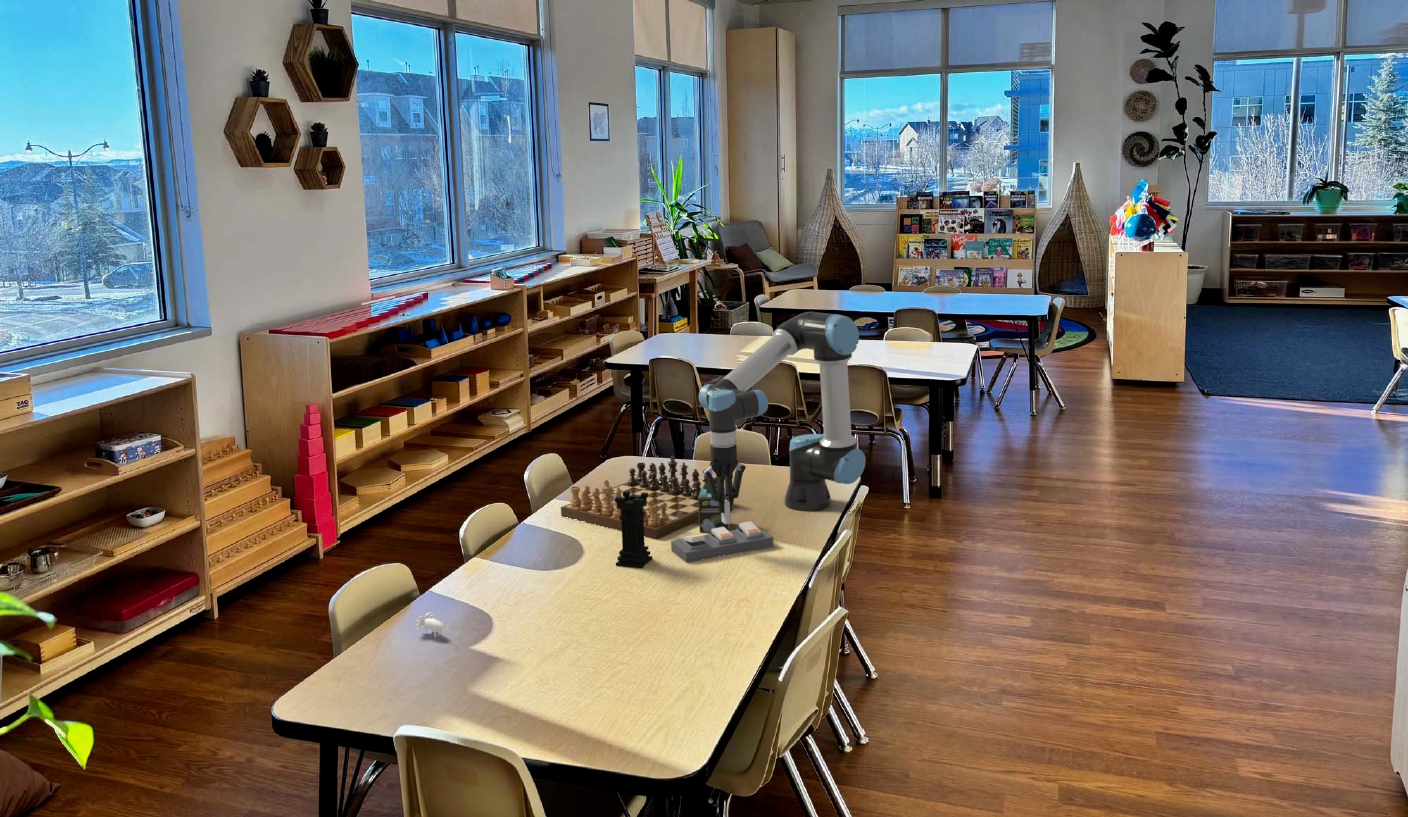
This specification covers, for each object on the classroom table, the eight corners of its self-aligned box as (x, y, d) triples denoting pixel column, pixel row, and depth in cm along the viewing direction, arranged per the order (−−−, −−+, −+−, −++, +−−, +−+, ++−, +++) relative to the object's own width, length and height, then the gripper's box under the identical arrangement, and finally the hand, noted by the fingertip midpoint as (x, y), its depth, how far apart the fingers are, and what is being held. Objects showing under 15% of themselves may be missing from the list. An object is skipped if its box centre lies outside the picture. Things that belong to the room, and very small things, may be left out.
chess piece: (652, 558, 321) (649, 492, 316) (641, 568, 313) (639, 500, 309) (626, 556, 323) (624, 490, 319) (615, 565, 316) (612, 498, 312)
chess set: (656, 541, 337) (655, 494, 333) (561, 518, 360) (558, 474, 357) (733, 506, 368) (732, 463, 364) (641, 487, 391) (639, 446, 388)
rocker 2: (750, 524, 334) (751, 520, 333) (760, 534, 328) (760, 531, 328) (738, 526, 332) (739, 523, 331) (748, 536, 327) (748, 533, 326)
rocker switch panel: (756, 535, 338) (756, 523, 337) (773, 546, 328) (773, 534, 327) (671, 550, 327) (670, 538, 326) (686, 562, 317) (686, 550, 316)
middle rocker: (723, 529, 330) (723, 526, 330) (733, 538, 325) (733, 535, 324) (711, 531, 328) (711, 528, 328) (720, 540, 323) (720, 537, 323)
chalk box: (731, 523, 350) (730, 478, 346) (728, 533, 341) (727, 486, 338) (701, 523, 351) (700, 478, 347) (698, 532, 342) (697, 486, 339)
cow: (412, 633, 274) (410, 615, 273) (429, 626, 278) (428, 608, 277) (444, 645, 267) (442, 627, 266) (461, 638, 271) (459, 619, 270)
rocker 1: (696, 538, 327) (695, 534, 327) (704, 540, 321) (704, 536, 321) (683, 540, 325) (683, 536, 325) (692, 542, 319) (691, 538, 319)
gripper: (738, 438, 324) (740, 515, 330) (697, 444, 319) (700, 522, 324) (749, 444, 317) (751, 522, 323) (708, 450, 312) (711, 530, 318)
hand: (725, 522), depth 324 cm, fingers closed
